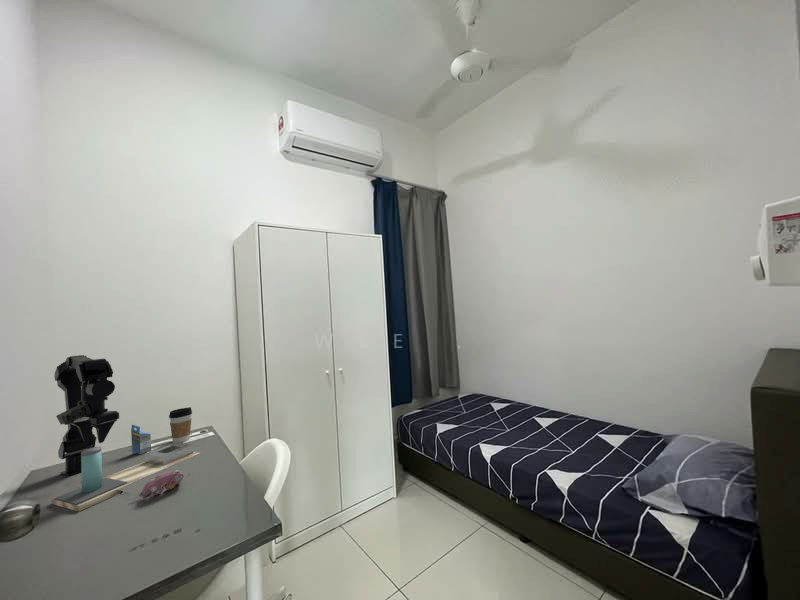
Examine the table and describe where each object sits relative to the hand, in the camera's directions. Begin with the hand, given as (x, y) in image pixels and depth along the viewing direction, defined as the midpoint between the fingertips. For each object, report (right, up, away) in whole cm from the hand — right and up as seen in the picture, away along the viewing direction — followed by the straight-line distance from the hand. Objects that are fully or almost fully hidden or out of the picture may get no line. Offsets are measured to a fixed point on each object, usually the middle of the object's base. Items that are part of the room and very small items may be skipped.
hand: (93, 441), depth 105 cm
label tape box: (0, -15, +20) cm, 25 cm away
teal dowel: (+11, -10, -11) cm, 18 cm away
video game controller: (+33, -10, -12) cm, 37 cm away
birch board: (+15, -12, 0) cm, 19 cm away
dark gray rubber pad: (+11, -10, -11) cm, 18 cm away
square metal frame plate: (+18, -11, +11) cm, 24 cm away
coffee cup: (+9, -15, +29) cm, 34 cm away
